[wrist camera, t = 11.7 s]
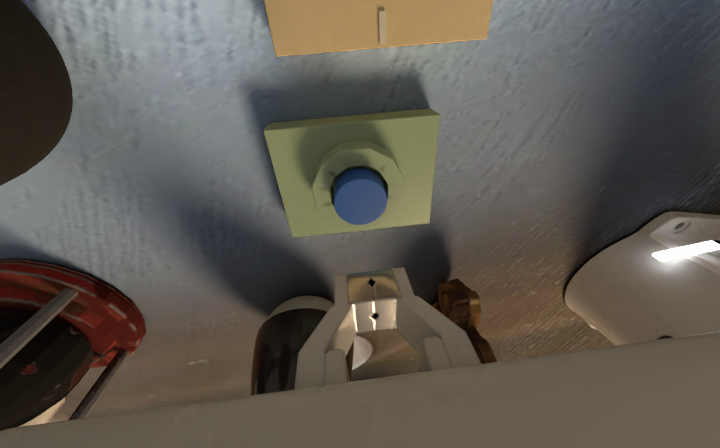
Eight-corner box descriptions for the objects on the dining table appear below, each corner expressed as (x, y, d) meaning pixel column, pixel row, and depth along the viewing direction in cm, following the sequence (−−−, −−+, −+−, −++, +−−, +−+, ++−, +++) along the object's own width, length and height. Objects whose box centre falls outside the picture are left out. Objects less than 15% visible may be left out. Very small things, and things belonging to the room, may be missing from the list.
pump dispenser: (328, 268, 28) (323, 451, 15) (363, 322, 33) (381, 488, 21) (245, 297, 29) (177, 487, 16) (292, 344, 35) (268, 512, 22)
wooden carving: (420, 267, 29) (456, 356, 20) (462, 261, 29) (513, 347, 20) (419, 349, 38) (443, 433, 30) (450, 344, 38) (482, 427, 30)
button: (382, 165, 18) (387, 175, 16) (383, 210, 20) (387, 222, 18) (330, 170, 18) (330, 181, 16) (337, 215, 20) (337, 227, 18)
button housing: (430, 108, 19) (450, 119, 16) (422, 210, 24) (436, 235, 21) (269, 122, 19) (256, 137, 16) (295, 223, 24) (289, 251, 21)
